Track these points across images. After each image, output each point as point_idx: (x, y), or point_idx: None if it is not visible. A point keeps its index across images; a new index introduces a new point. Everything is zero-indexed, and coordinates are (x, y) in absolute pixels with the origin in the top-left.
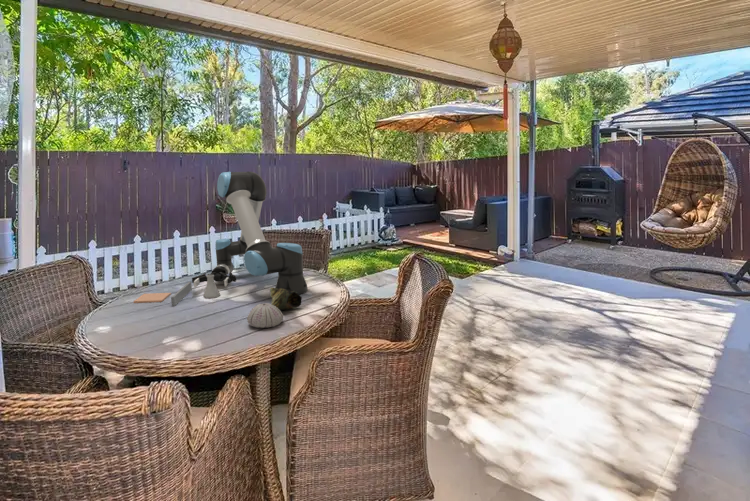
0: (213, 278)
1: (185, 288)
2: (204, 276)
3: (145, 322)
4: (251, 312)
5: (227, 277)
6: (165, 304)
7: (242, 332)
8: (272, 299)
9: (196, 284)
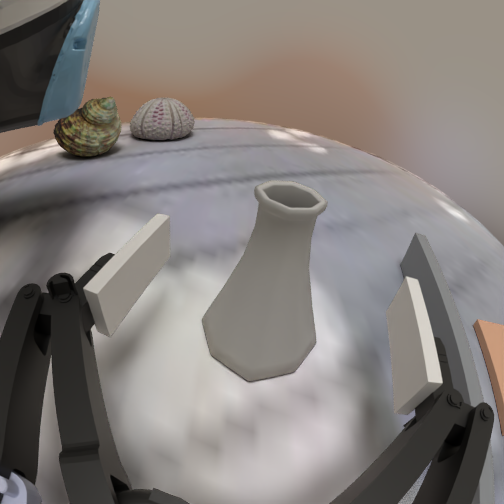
0: (258, 215)
1: (457, 380)
2: (394, 470)
3: (402, 202)
4: (187, 109)
5: (101, 280)
6: None
7: (207, 131)
8: (117, 119)
9: (395, 317)
